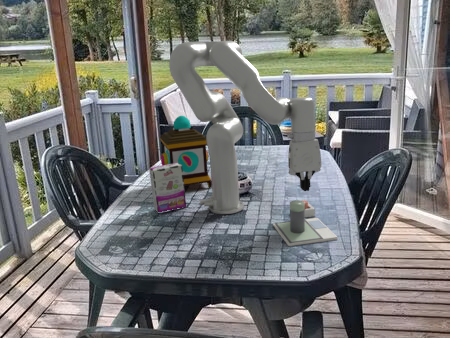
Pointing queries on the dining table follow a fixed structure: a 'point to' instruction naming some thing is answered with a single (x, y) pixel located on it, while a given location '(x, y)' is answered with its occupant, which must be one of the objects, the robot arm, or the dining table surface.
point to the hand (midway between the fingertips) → (305, 189)
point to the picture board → (305, 232)
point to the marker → (297, 216)
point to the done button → (306, 204)
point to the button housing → (310, 211)
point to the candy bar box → (167, 187)
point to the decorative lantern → (186, 151)
